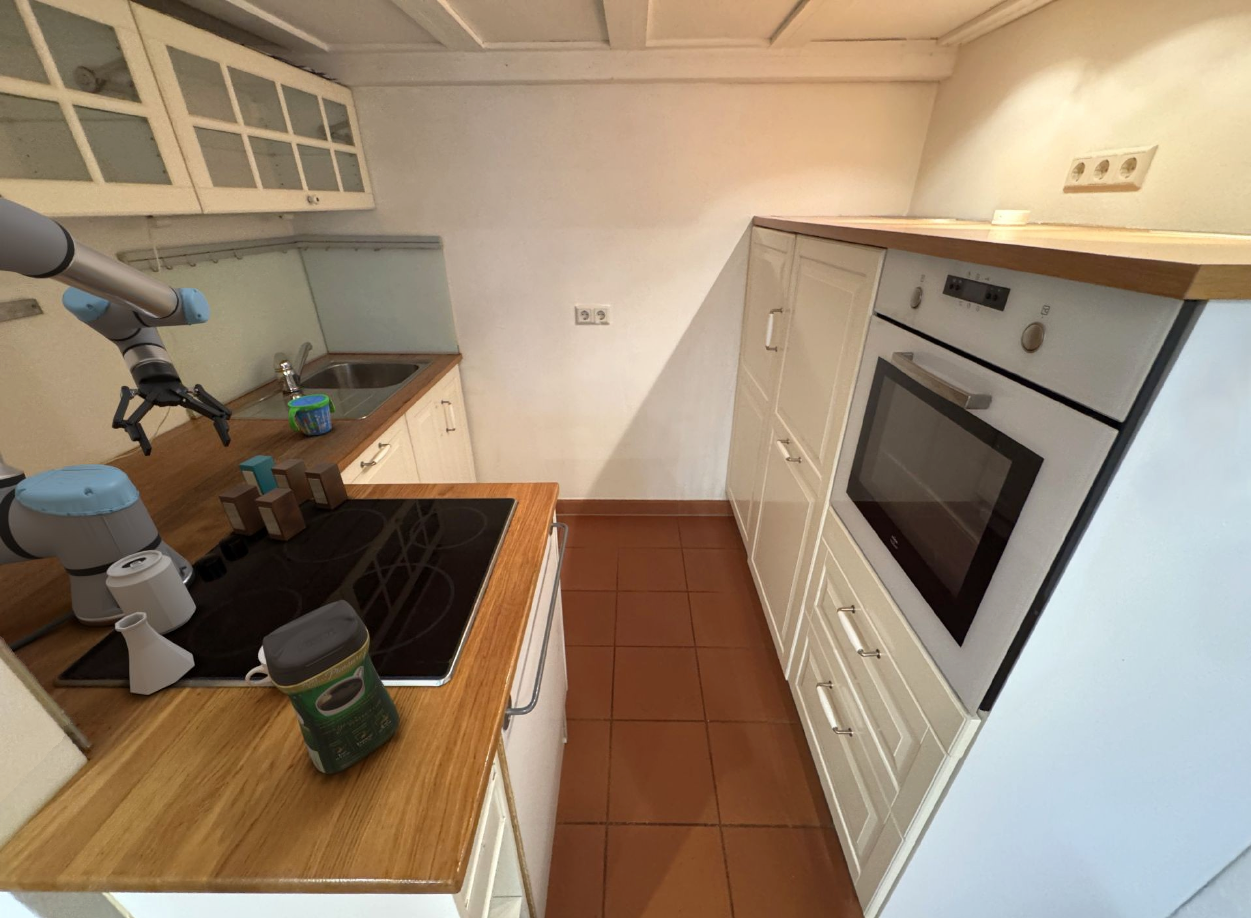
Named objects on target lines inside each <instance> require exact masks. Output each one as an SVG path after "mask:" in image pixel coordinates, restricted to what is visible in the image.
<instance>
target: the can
mask: <svg viewBox="0 0 1251 918" xmlns="http://www.w3.org/2000/svg"><path fill="white" fill-rule="evenodd" d="M107 575H109V576H108V578H107V580H106V585H107V587H108V588H109V590H110V591H111V593H112V595H113V596H114V598H115V600H116V601H117V603H118V604H119V606H120V608H121V609H122V611H123V612H124V614H125V616H128V615H131V614H134V613H136V612H142V613H146V615H147V622H148V624H149V625H150V626H151V627H152V628H153V629H154V630H155V631H156V632H157V633H158V634H159V635H161V636H163V635H166V634H168V633H171V632H174V631H175V630H177V629H179V628H180V627H182V626H184V625H185V624H186V623H187V622H189V620H190V619H191V618H192V616H193V614H194V613H195V611H196V609H197V606H196V604H195V601H194V599H193V598H192V596H191V594H190V592H189V590H188V589H187V588H186V587H185V585H184V583H183V581H182V579H181V577H180V575H179V573H178V572H177V570H176V568H175V566H174V564H173V562H172V560H171V558H170V557H168V556H165V555H162V553H161V552H159V551H155V550H149V551H143V552H139V553H135V554H132V555H129V556H127V557H125V558H123V559H121V560H119V561H117V562H115V563H114V564H113V565H112V566H110V567H109V569H108V570H107Z"/></svg>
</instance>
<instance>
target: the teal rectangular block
mask: <svg viewBox="0 0 1251 918" xmlns="http://www.w3.org/2000/svg"><path fill="white" fill-rule="evenodd" d="M274 466H276V464H275V461H274V458H273V456H271V455H261V454H257V455H255V456H253V457H251V458H249V459H247V460H245V461H243V462H241V463H239V464H238V467H239V469H240V472H241V474H242V477H243V479H244V482H245V484H248V485H256V486H257V489H258V491H259V493H260V496H263V495H264V494H266V493H268V492H270V491H271V490H273V489H275V488H278V486H277V484H276V481H275V479H274V476H273V473H272V471H271V468H272V467H274Z"/></svg>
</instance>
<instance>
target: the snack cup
mask: <svg viewBox="0 0 1251 918" xmlns="http://www.w3.org/2000/svg"><path fill="white" fill-rule="evenodd" d="M287 408H288V409H289V410H288V417H287V418H288V426H289V428H290V430H292V431H294V432H298V431H300V430H301V431H302V433H303V434H304V435H306V436H307V437H311V436H320V435H325V434H327V433H328V432H330V431H331V430H332V428H333V427H332V419H331V418H332V417H331V414H335V412H336V407H335V404H334V403H333V401H332V399H331V398H330V396H328V395H326V394H309V395H303V396H299V397H296V398H294V399H292V400H289V401H288V402H287ZM295 420H296V421H295ZM296 422H297V423H296ZM297 424H298V425H297ZM299 427H300V428H299Z"/></svg>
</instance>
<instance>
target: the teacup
mask: <svg viewBox="0 0 1251 918" xmlns="http://www.w3.org/2000/svg"><path fill="white" fill-rule="evenodd" d="M257 655H258V656H257V657H258V658H257V659H258V660H259V662H260V665H259V666H256V667H253V668H252V669H251V670H249V671H248V673H247V674H246V675H245V679H244V680H245V683H246V684H247V685H248V686H249V687H258V686H262V685H266V684H269V683H272V681H271V679H270V677H269V674H268V669H267V664H266V659H265V655H264V650H263V645H261V647H260V648H259V651H258V654H257ZM256 673H261V674H266V675H267V676H266V677H264V678H262V679H261V680H258V681H251V680H250V679H251V677H252V676H253V675H254V674H256Z"/></svg>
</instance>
